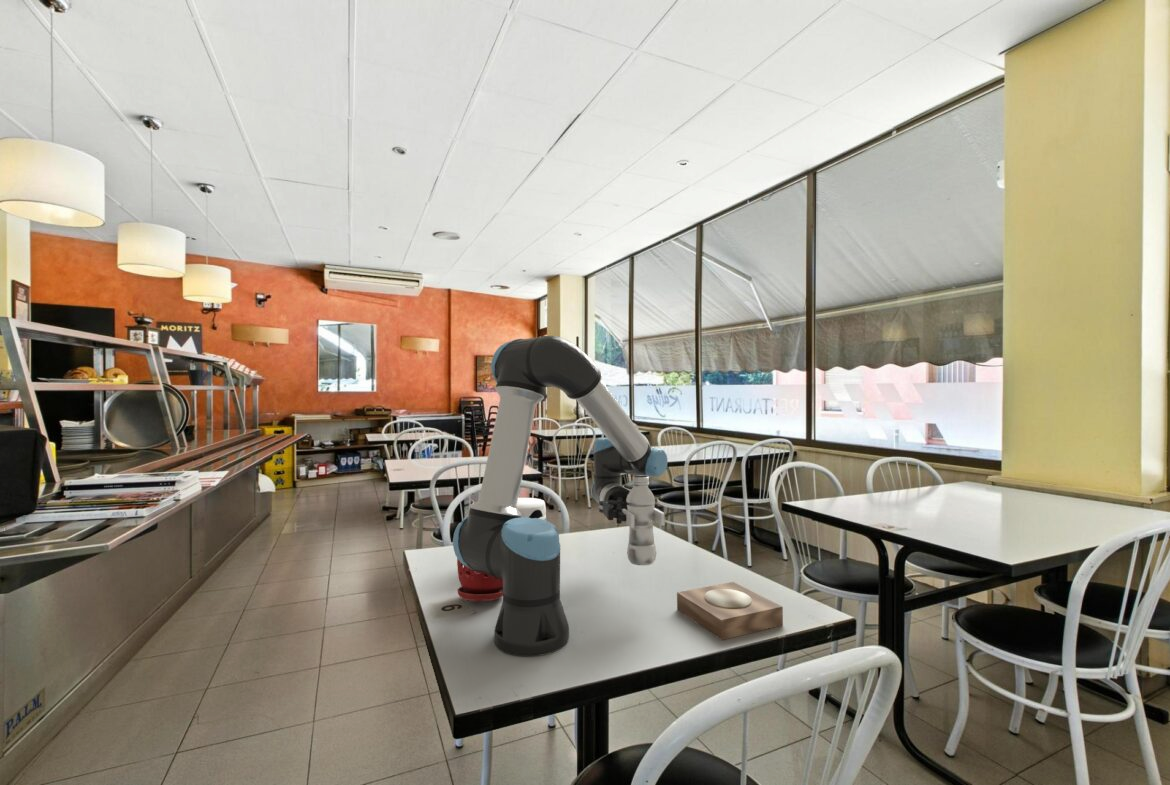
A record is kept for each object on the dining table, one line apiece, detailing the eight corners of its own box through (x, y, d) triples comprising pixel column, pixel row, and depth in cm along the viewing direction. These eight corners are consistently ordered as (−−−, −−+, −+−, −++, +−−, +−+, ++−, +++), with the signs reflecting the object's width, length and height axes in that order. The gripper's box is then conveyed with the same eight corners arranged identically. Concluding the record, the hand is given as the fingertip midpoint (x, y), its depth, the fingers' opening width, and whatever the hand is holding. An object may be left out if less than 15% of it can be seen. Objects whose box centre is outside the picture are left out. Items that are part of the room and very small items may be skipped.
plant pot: (492, 606, 116) (493, 552, 118) (444, 600, 121) (446, 548, 123) (520, 593, 128) (521, 544, 130) (475, 588, 133) (477, 541, 135)
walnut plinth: (721, 640, 102) (721, 618, 102) (677, 609, 117) (676, 590, 117) (782, 625, 109) (782, 604, 109) (733, 598, 123) (733, 580, 123)
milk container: (484, 559, 156) (483, 500, 156) (537, 551, 163) (537, 495, 163) (499, 577, 140) (498, 511, 140) (558, 567, 147) (557, 505, 148)
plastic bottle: (661, 566, 115) (660, 477, 115) (634, 570, 112) (633, 479, 112) (648, 558, 121) (647, 473, 121) (622, 561, 118) (621, 475, 118)
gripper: (652, 512, 137) (688, 534, 114) (581, 516, 132) (605, 540, 110) (651, 484, 137) (688, 500, 114) (581, 487, 132) (605, 505, 110)
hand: (647, 520), depth 112 cm, fingers closed on plastic bottle, 6 cm apart
